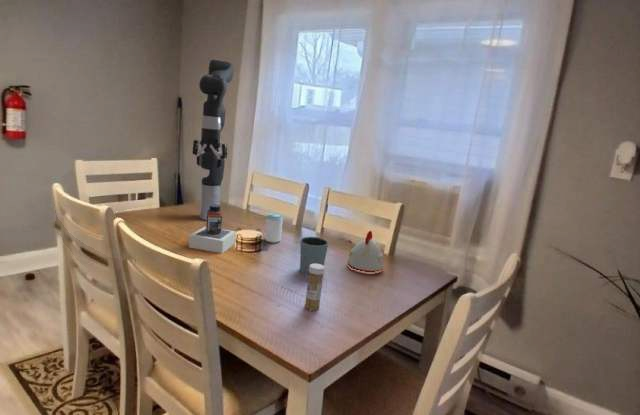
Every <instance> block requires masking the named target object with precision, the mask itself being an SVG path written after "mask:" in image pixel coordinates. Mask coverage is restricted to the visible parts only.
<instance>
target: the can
mask: <svg viewBox="0 0 640 415" xmlns="http://www.w3.org/2000/svg"><path fill="white" fill-rule="evenodd" d="M282 216H283V215H282V214H281V213H276V212H270V213H268V215H267V217H266V221H265V230H264V231H265V232H264V233H265V234H264V240H265V241H266V242H268V243H272V244H273V243H274V244H275V243H279V242H280V241H282V233H283V232H282V230H283V222H284V220H283V217H282Z"/></svg>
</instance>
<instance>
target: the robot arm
mask: <svg viewBox="0 0 640 415" xmlns="http://www.w3.org/2000/svg"><path fill="white" fill-rule="evenodd" d="M233 78H234V64H232V63H231V62H229V61H223V60H219V59H218V60H217V59H211V60H210V61H209V65H208V74H206V75H203V76H202V77H201V78H200V82H199V84H198V85H199V90H200V92H201V93H202V94H203V95H207V97H206V98H207V99H206V100H205V101H204V102H203V105H202V106H203V108H202V120H201V133H200V134H201V136H200V137H201V140H199V139H194V140H193V141H192V142H193V143H192V155H194V156H196V165H197V166H200V167H201V168H202V169H203V170H206V171H209V173H208V176H205V177H202V178H201V192H200V210H199V219H200V220H203V221H207V211H208V210H209V209H210V205H212V204H216V205H220V206H221V196H222V195H221V193H222V192H221V191H222V181H223V179H224V173H225V162H226V161H225V159H227V158H228V144H227V143H221V132H222V130H223V128H224V127H225V122H226V114H227V113H226V108H225V106H224V104H223V101H224V97H225V95H226V92H227V90H228V83H231V82H232V81H233ZM199 146H201V147H200V149H199ZM220 149H221V151H220Z"/></svg>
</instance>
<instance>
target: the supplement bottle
mask: <svg viewBox="0 0 640 415" xmlns="http://www.w3.org/2000/svg"><path fill="white" fill-rule="evenodd" d="M222 223H223V211H222V210H221V204H220V205H216V204H212V205H210V209H209V210H208V211H207V220H206V226H205V227H206V232H207V233H209V234H219V233H221V229H222Z"/></svg>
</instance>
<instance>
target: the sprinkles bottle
mask: <svg viewBox="0 0 640 415" xmlns="http://www.w3.org/2000/svg"><path fill="white" fill-rule="evenodd" d="M324 274H325V265H324V266H323V265H321V264H311V265H310V266H309V276H308V281H307V286H306V295H305V302H304V303H305V304H304V307H305V309H307V310H309V309H311V310H310V311H317V310H319V309H318V308H320V302H321V297H322V296H321V295H322V294H321V293H322V288H323V278H324ZM316 309H317V310H316Z"/></svg>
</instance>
